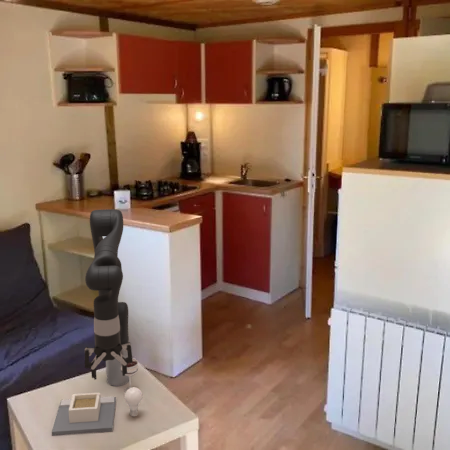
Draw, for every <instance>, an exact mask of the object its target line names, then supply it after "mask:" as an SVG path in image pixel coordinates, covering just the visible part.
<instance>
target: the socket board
mask: <svg viewBox="0 0 450 450" xmlns="http://www.w3.org/2000/svg"><path fill="white" fill-rule="evenodd" d="M95 398H96V402H95V407H86V408H74V407H75V403H76V400H79V399H95ZM116 403H117V397H116V396H115V395H114V396H113V395H112V396H101V393H100V392H88V393H85V392H83V393H73V394H72V395H71V398H65V399H61V400H60V402H59V406H58V408H57V413H56V416H55V420H54V421H53V422H54V423H53V427H52V430H51V436H67V435H69V436H70V435H80V434H82V435H83V434H93V433H94V434H95V433H108V432H110V433H111V432H113V430H114V421H115V411H116V405H117V404H116Z"/></svg>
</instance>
